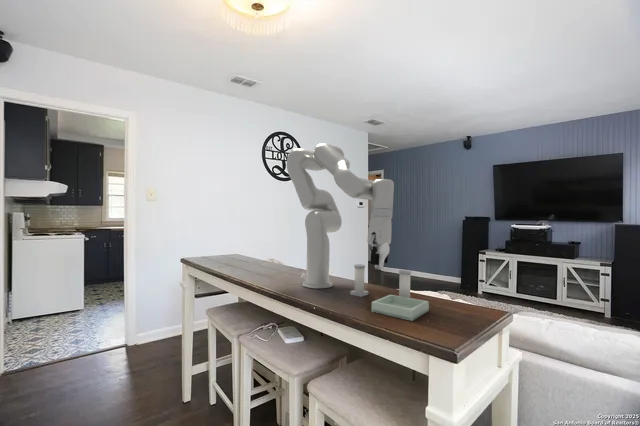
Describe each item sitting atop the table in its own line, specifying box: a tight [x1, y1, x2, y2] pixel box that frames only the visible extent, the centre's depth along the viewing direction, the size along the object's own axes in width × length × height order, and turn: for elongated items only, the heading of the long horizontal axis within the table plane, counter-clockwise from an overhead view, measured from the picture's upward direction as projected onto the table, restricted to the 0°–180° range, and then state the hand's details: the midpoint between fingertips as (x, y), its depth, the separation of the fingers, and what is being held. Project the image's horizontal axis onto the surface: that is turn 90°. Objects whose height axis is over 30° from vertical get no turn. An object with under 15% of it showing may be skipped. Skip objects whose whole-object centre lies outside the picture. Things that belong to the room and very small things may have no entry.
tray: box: [371, 294, 430, 322], centre depth 99 cm, size 13×13×3 cm
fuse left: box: [349, 263, 369, 297], centre depth 120 cm, size 5×5×11 cm
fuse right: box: [398, 269, 412, 298], centre depth 109 cm, size 5×5×11 cm
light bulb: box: [374, 243, 390, 271], centre depth 115 cm, size 7×7×11 cm
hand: (379, 263), depth 115 cm, fingers closed on light bulb, 5 cm apart
